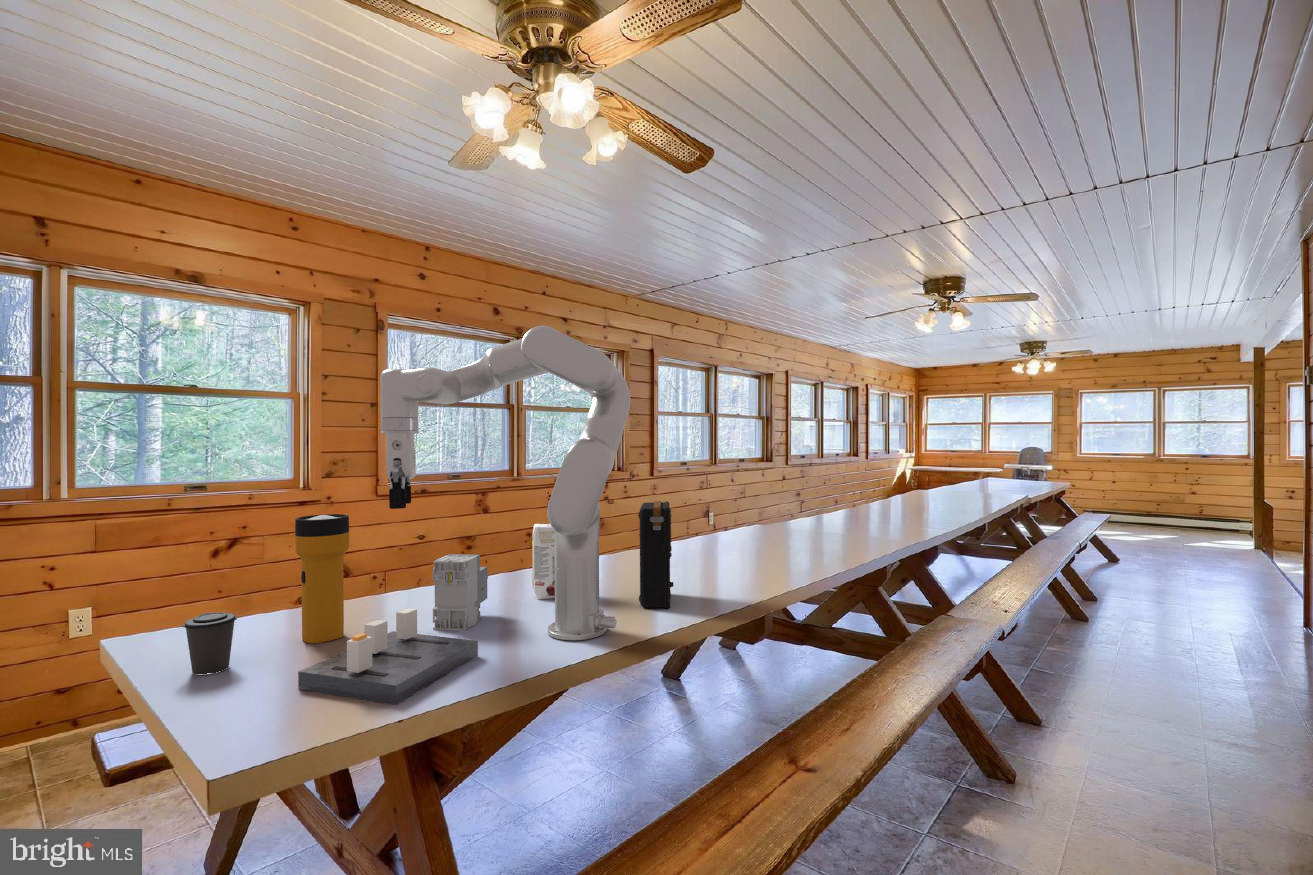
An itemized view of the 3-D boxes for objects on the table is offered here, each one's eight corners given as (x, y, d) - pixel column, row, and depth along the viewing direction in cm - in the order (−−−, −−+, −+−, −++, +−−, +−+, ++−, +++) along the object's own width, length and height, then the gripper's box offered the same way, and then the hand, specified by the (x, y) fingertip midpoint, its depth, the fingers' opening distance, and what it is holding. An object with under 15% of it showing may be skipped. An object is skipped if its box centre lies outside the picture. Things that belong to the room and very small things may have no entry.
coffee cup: (206, 661, 115) (206, 608, 115) (248, 661, 114) (247, 608, 114) (170, 678, 106) (170, 621, 106) (215, 678, 106) (215, 621, 106)
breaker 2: (417, 634, 119) (417, 609, 119) (406, 639, 116) (406, 613, 116) (407, 633, 120) (407, 608, 120) (396, 638, 117) (396, 612, 117)
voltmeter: (674, 610, 147) (673, 507, 147) (638, 610, 147) (637, 507, 147) (673, 593, 162) (672, 500, 162) (640, 593, 162) (640, 500, 162)
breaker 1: (387, 648, 111) (387, 621, 111) (375, 653, 108) (375, 625, 108) (377, 646, 112) (376, 619, 112) (364, 652, 109) (364, 624, 109)
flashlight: (356, 514, 128) (304, 519, 121) (357, 637, 128) (305, 649, 121) (338, 511, 135) (288, 515, 128) (339, 627, 135) (289, 638, 128)
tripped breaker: (372, 666, 102) (372, 633, 102) (358, 672, 99) (358, 638, 99) (361, 664, 103) (360, 631, 103) (347, 671, 100) (346, 637, 100)
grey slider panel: (477, 656, 116) (477, 640, 116) (396, 704, 95) (395, 684, 95) (392, 646, 122) (392, 630, 122) (298, 689, 101) (298, 670, 101)
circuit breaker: (490, 611, 146) (489, 549, 146) (465, 630, 132) (465, 561, 132) (460, 611, 147) (459, 549, 147) (432, 629, 133) (432, 561, 133)
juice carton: (567, 598, 158) (567, 525, 158) (534, 600, 156) (533, 527, 156) (563, 591, 165) (563, 521, 165) (531, 593, 163) (531, 523, 163)
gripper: (414, 425, 124) (415, 509, 124) (422, 427, 140) (422, 501, 140) (374, 426, 122) (375, 511, 121) (386, 427, 138) (387, 502, 138)
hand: (400, 505), depth 131 cm, fingers open, 9 cm apart
